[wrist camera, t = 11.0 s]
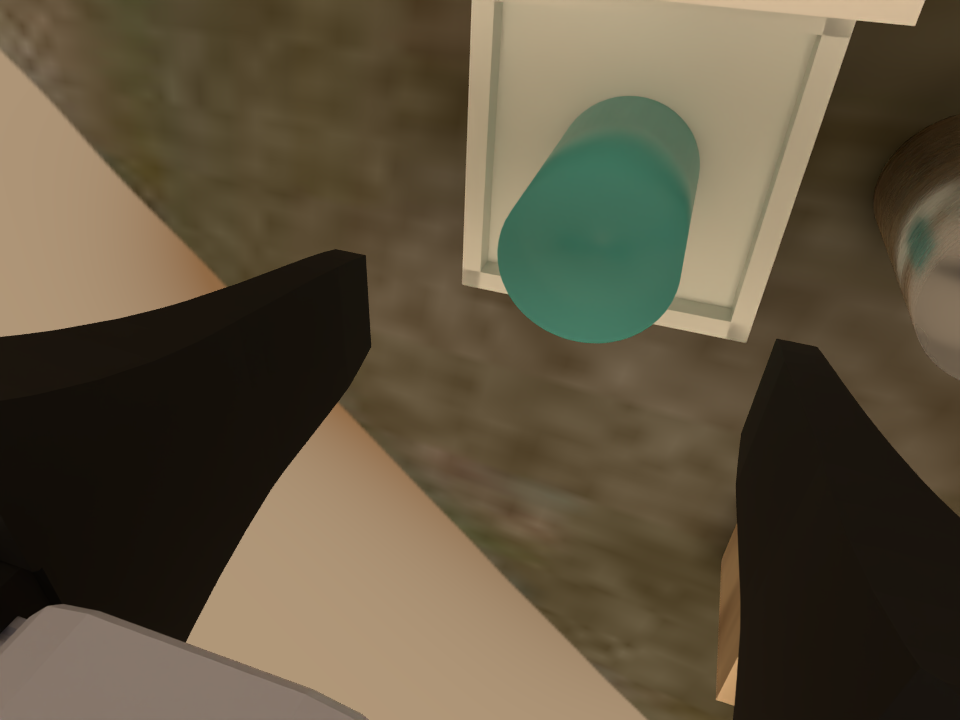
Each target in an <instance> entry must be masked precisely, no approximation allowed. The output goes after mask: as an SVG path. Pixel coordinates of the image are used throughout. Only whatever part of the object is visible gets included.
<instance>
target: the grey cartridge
mask: <svg viewBox="0 0 960 720" xmlns="http://www.w3.org/2000/svg"><path fill="white" fill-rule="evenodd" d="M873 208H874V215H875V218H876V221H877V225H878V227H879V230H880V233H881V236H882V239H883V241H884V244H885V247H886V250H887V253H888V255H889V258H890V261H891V264H892V267H893V269H894V272H895V275H896V278H897V281H898V283H899V286H900V289H901V292H902V295H903V298H904V300H905V303H906V306H907V309H908V312H909V314H910V317H911V320H912V323H913V326H914V328H915V331H916V334H917V337H918V340H919V342H920V344H921V346H922V348H923V350H924V352H925V353H926V354H927V355H928V357H929V358H930V359H931V360H932V361H933V362H934V363H935V364H936V365H937V366H938V367H939V368H940V369H942V370H943V371H944V372H946V373H947V374H949V375H950V376H952V377H954V378H956V379H958V380H960V114H959V115H955V116H952V117H949V118H946V119H944V120H941V121H938V122H936V123H934V124H932V125H930V126H928V127H926V128H925V129H923V130H922V131H920V132H918V133H917V134H915V135H914V136H913V137H911V138H910V139H909V140H908V141H906V142H905V143H904V144H903V145H902V146H901V147H900V148H899V149H898V150H897V151H896V152H895V153H894V154H893V156H892V157H891V158H890V159H889V161H888V162H887V164H886V165H885V167H884V168H883V170H882V172H881V174H880V176H879V178H878V181H877V184H876V187H875V192H874V202H873Z"/></svg>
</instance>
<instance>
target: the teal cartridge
mask: <svg viewBox="0 0 960 720" xmlns="http://www.w3.org/2000/svg"><path fill="white" fill-rule="evenodd" d="M699 172H700V157H699V150H698V147H697V143H696V140H695V138H694V136H693V133H692V132H691V130H690V128H689V127H688V125H687V124H686V123H685V122H684V120H683V119H682V118H681V117H680V116H679V115H678V114H677V113H676V112H674V111H673V110H672V109H670V108H669V107H667V106H666V105H664V104H662V103H660V102H658V101H655V100H652V99H649V98H644V97H639V96H620V97H614V98H610V99H607V100H604V101H601V102H599V103H597V104H595V105H593V106H591V107H590V108H588V109H587V110H585V111H584V112H583V113H582V114H580V115H579V116H578V117H577V118H576V119H575V120H574V122H573V123H572V124H571V125H570V127H569V128H568V130H567V131H566V132H565V134H564V135H563V137H562V138H561V140H560V141H559V143H558V144H557V145H556V147H555V148H554V150H553V151H552V153H551V154H550V155H549V157H548V158H547V160H546V161H545V163H544V164H543V166H542V167H541V168H540V170H539V171H538V173H537V174H536V176H535V177H534V178H533V180H532V181H531V183H530V184H529V186H528V187H527V189H526V190H525V191H524V193H523V194H522V196H521V197H520V199H519V200H518V202H517V203H516V204H515V206H514V207H513V209H512V210H511V212H510V213H509V215H508V217H507V218H506V220H505V222H504V224H503V227H502V229H501V233H500V236H499V240H498V249H497V257H498V267H499V272H500V275H501V279H502V282H503V284H504V286H505V288H506V291H507V293H508V294H509V296H510V297H511V299H512V301H513V302H514V303H515V305H516V306H517V307H518V308H519V309H520V311H521V312H522V313H523V314H524V315H525V316H526V317H528V318H529V319H530V320H531V321H533V322H534V323H535V324H537V325H538V326H540V327H541V328H543V329H544V330H546V331H548V332H550V333H552V334H554V335H557V336H560V337H562V338H565V339H569V340H573V341H577V342H584V343H608V342H614V341H619V340H623V339H626V338H629V337H632V336H634V335H636V334H638V333H640V332H642V331H644V330H645V329H647V328H648V327H650V326H651V325H652V324H654V323H655V322H656V321H657V320H658V319H659V318H660V317H661V316H662V315H663V314H664V313H665V312H666V310H667V309H668V307H669V306H670V304H671V303H672V301H673V299H674V297H675V295H676V293H677V290H678V286H679V283H680V278H681V273H682V267H683V262H684V256H685V250H686V245H687V239H688V234H689V228H690V223H691V217H692V212H693V206H694V200H695V195H696V189H697V184H698V178H699Z"/></svg>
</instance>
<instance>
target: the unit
mask: <svg viewBox="0 0 960 720" xmlns="http://www.w3.org/2000/svg"><path fill="white" fill-rule="evenodd" d="M659 1H669V2H679V3H689V4H699V5H709V6H719V7H729V8H739V9H749V10H759V11H769V12H779V13H789V14H799V15H809V16H819V17H829V18H839V19H849V20H859V21H869V22H879V23H889V24H899V25H909V26H915V25H916V22H917V20H918V17H919V15H920V12H921V9H922V7H923V4H924V2H925V0H659Z"/></svg>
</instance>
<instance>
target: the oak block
mask: <svg viewBox="0 0 960 720" xmlns="http://www.w3.org/2000/svg"><path fill="white" fill-rule="evenodd" d="M739 639H740V581H739V557H738V534H737V524H736V526H735V529H734V531H733V534H732V536H731V538H730V541H729V543H728V545H727V548H726V550H725V553H724V555H723V557H722V560H721V585H720V610H719V635H718V660H717V685H716V700H718V701H721V702H724V703H728V704H731V705H734V703H735V692H736V680H737V666H738V652H739Z"/></svg>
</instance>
